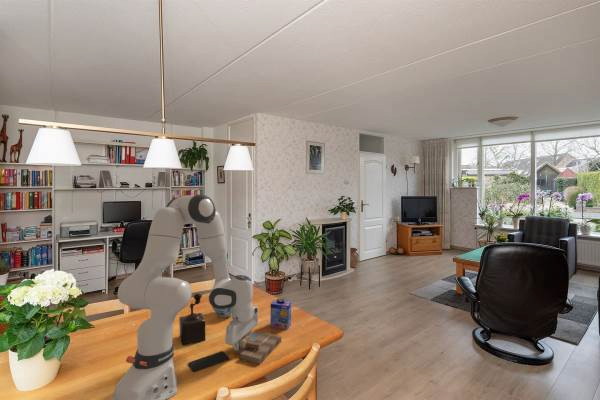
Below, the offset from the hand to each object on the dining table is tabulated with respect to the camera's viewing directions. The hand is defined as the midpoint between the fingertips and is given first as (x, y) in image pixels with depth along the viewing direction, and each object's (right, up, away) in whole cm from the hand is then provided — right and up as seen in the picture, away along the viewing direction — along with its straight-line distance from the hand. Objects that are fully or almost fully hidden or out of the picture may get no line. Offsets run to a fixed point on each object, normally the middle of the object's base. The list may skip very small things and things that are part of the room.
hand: (242, 345), depth 130 cm
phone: (-12, -3, -8) cm, 15 cm away
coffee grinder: (-26, -2, +13) cm, 29 cm away
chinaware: (-16, -1, +37) cm, 40 cm away
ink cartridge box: (+15, -2, +24) cm, 29 cm away
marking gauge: (+3, -3, -1) cm, 4 cm away
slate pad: (+1, -2, +11) cm, 12 cm away
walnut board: (+8, -3, +1) cm, 9 cm away
